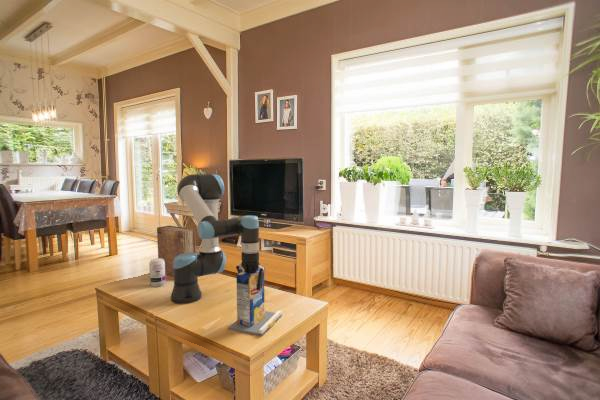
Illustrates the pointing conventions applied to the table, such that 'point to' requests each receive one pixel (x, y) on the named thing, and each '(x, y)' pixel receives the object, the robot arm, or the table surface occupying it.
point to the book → (174, 244)
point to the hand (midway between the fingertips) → (250, 304)
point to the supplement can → (157, 272)
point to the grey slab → (258, 324)
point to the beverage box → (249, 299)
